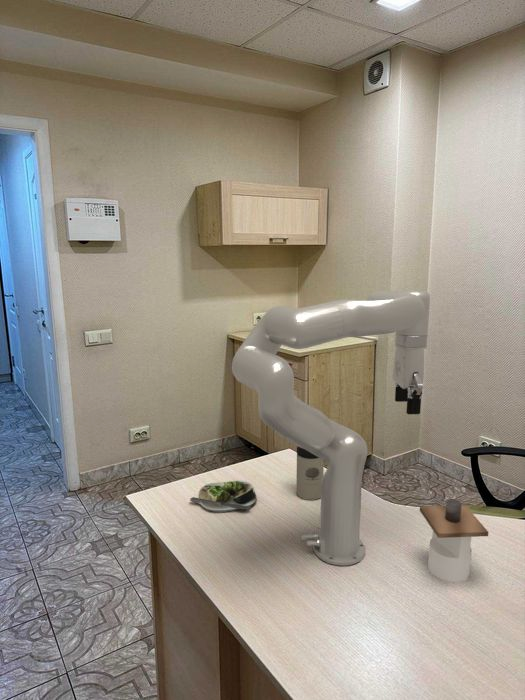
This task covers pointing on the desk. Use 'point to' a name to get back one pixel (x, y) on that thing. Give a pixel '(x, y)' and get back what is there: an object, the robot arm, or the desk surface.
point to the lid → (453, 520)
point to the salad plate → (226, 496)
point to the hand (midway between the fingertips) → (406, 407)
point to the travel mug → (308, 474)
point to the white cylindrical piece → (450, 558)
